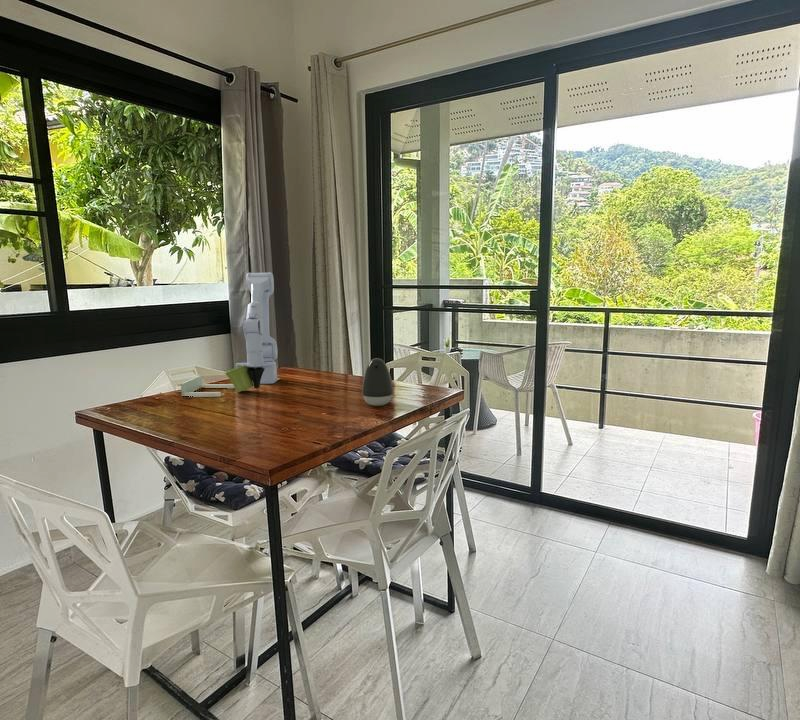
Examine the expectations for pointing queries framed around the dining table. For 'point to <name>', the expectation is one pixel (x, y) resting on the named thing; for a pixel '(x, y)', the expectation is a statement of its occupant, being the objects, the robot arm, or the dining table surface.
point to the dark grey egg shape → (377, 383)
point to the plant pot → (240, 378)
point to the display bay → (196, 383)
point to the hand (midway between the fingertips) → (257, 387)
